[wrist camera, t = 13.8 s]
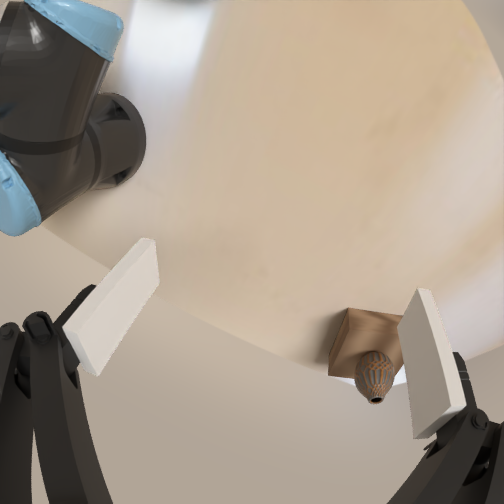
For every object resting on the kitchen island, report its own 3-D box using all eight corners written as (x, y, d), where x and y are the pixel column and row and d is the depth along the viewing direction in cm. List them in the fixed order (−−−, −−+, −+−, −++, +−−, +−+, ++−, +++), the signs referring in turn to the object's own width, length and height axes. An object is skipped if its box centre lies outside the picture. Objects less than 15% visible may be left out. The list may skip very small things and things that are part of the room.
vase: (349, 368, 48) (349, 410, 41) (359, 344, 45) (361, 388, 37) (384, 370, 47) (388, 410, 40) (397, 346, 43) (404, 389, 36)
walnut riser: (328, 355, 54) (328, 375, 50) (348, 307, 47) (349, 329, 43) (388, 362, 53) (390, 381, 49) (415, 317, 46) (420, 338, 41)
